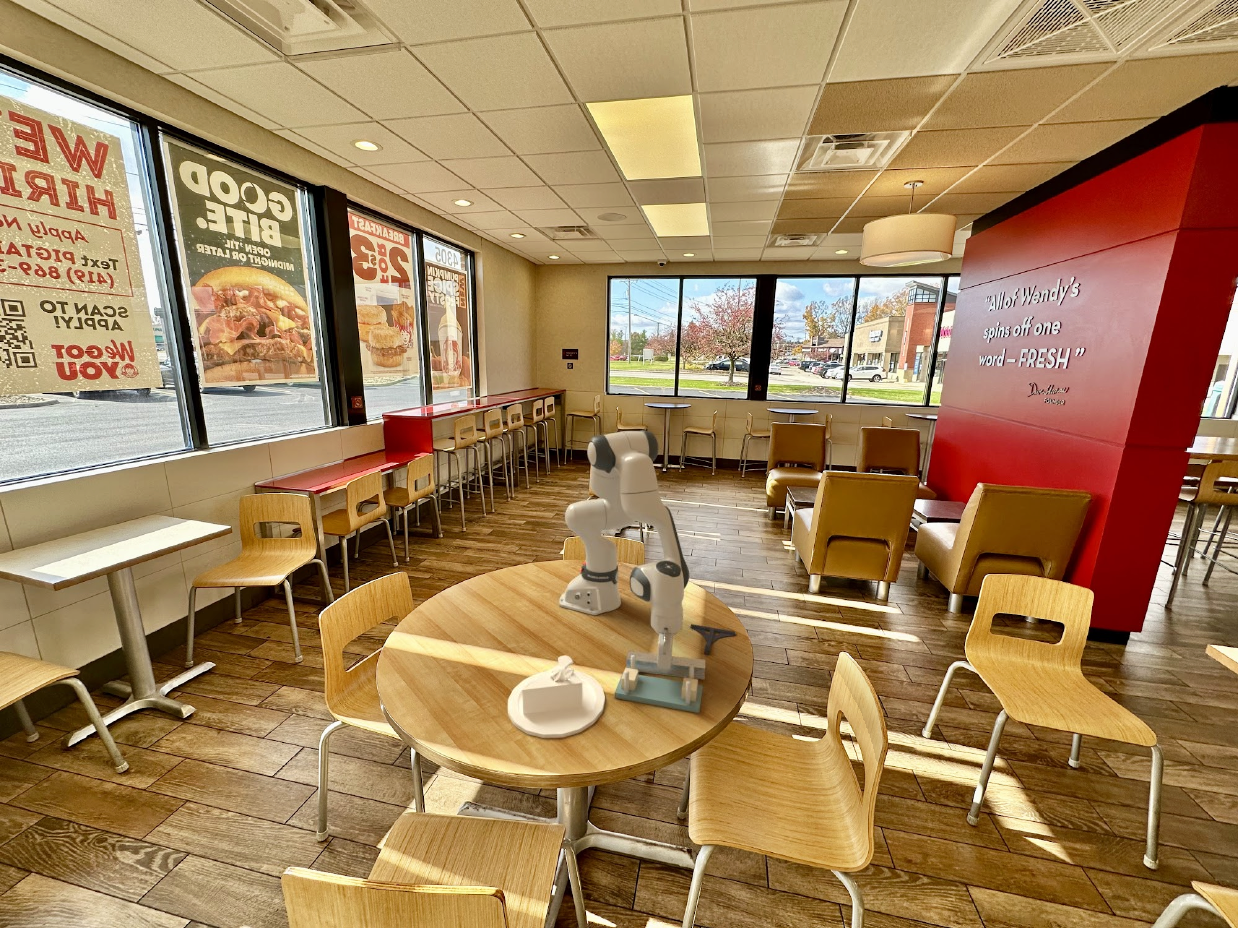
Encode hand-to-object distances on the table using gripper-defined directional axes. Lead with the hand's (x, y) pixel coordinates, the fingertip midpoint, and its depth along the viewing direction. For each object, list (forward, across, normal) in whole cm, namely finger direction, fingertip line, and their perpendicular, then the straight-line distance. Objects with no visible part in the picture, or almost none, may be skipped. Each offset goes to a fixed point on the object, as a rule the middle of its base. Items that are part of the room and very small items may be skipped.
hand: (665, 663), depth 140 cm
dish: (+3, -17, +27) cm, 32 cm away
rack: (+2, -10, +1) cm, 10 cm away
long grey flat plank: (+2, 0, 0) cm, 2 cm away
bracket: (+3, +17, -13) cm, 22 cm away
